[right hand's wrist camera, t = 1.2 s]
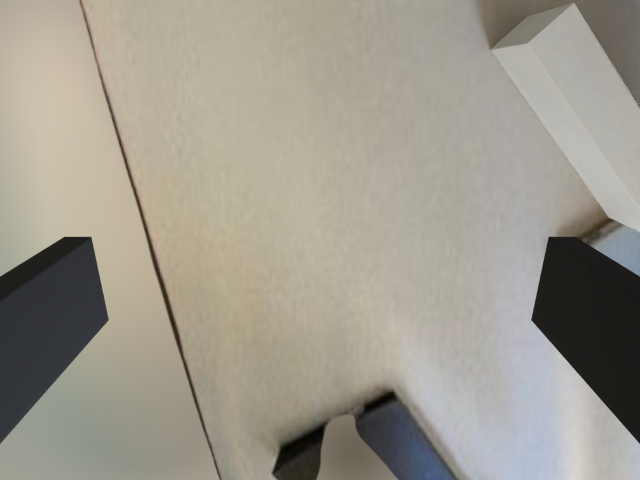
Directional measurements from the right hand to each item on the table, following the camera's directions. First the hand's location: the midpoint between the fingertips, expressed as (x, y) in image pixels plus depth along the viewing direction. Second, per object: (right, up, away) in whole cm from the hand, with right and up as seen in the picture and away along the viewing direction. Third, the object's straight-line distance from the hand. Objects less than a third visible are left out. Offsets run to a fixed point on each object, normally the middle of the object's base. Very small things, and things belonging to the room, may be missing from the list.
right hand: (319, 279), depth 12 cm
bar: (+30, +15, +38) cm, 51 cm away
